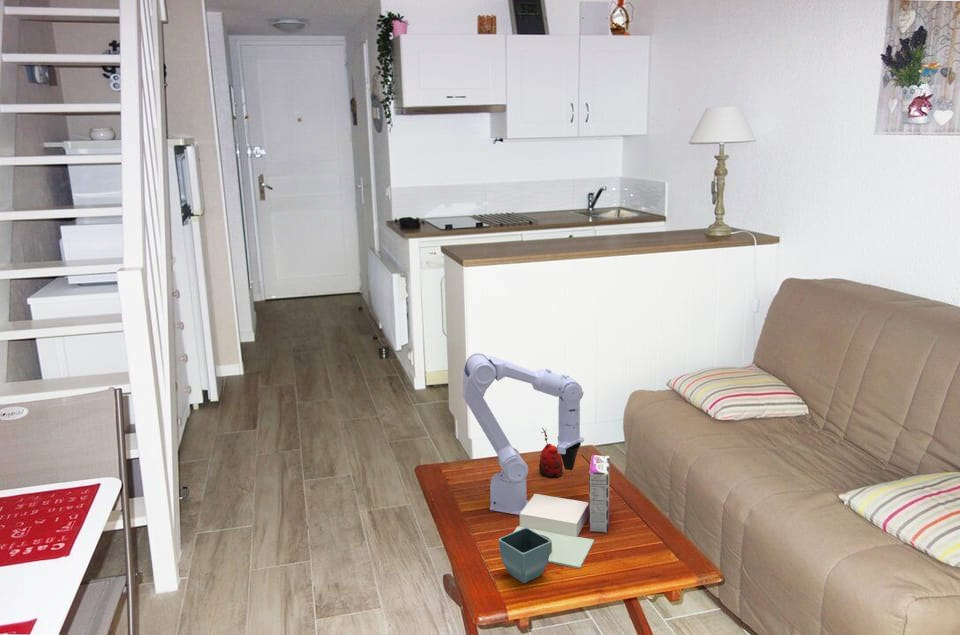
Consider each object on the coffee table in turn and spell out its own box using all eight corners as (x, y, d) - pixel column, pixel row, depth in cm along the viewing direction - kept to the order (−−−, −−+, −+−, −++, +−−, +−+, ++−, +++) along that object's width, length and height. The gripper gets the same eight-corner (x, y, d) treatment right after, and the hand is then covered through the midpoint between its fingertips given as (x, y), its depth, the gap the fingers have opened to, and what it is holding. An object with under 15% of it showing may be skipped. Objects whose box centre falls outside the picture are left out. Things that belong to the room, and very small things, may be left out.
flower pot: (526, 560, 176) (526, 526, 174) (552, 576, 169) (552, 540, 167) (498, 574, 170) (497, 538, 168) (523, 591, 164) (523, 554, 162)
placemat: (499, 552, 179) (499, 550, 179) (518, 527, 191) (518, 525, 191) (580, 568, 172) (580, 566, 172) (594, 541, 183) (594, 539, 183)
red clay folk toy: (566, 477, 219) (566, 429, 216) (543, 480, 218) (543, 432, 214) (557, 467, 227) (557, 420, 223) (535, 469, 225) (535, 423, 222)
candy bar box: (590, 511, 199) (591, 454, 195) (609, 512, 198) (610, 455, 194) (588, 532, 188) (588, 472, 184) (608, 533, 187) (609, 473, 183)
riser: (519, 527, 191) (519, 513, 190) (534, 507, 202) (534, 493, 201) (576, 538, 185) (576, 523, 184) (588, 516, 196) (589, 502, 195)
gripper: (576, 433, 192) (575, 481, 195) (590, 414, 205) (590, 460, 208) (550, 429, 194) (550, 477, 197) (565, 411, 207) (565, 457, 211)
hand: (568, 468), depth 203 cm, fingers closed
